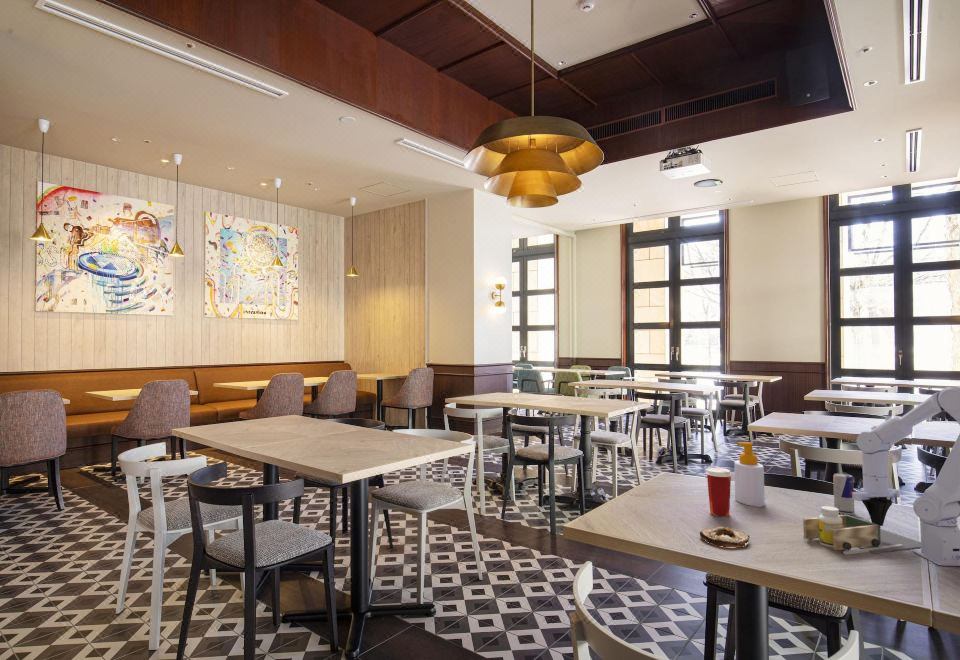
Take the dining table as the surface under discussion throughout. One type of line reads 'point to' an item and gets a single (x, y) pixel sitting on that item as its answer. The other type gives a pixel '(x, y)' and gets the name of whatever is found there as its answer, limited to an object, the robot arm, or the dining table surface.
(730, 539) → the ring pastry
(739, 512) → the dining table surface
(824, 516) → the supplement bottle
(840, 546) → the cart
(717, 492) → the paper cup
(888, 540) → the track
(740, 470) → the soap bottle
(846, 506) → the energy drink
